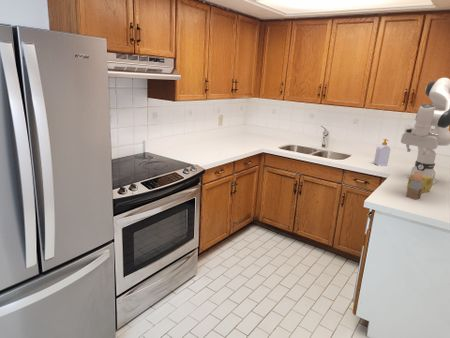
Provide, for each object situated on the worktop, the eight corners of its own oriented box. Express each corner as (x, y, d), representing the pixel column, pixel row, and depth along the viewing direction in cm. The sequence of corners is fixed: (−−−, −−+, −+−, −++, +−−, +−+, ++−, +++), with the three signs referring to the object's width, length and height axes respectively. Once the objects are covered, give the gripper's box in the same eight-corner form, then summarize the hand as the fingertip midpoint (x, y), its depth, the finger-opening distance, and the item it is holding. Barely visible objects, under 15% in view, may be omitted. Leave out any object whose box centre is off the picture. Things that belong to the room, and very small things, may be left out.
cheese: (420, 193, 211) (423, 178, 208) (405, 187, 221) (408, 174, 218) (430, 192, 215) (434, 177, 213) (415, 186, 225) (419, 173, 222)
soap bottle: (378, 166, 276) (383, 139, 269) (373, 163, 282) (378, 138, 276) (387, 166, 277) (393, 140, 271) (382, 164, 284) (388, 138, 277)
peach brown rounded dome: (414, 179, 202) (416, 171, 201) (422, 181, 199) (424, 173, 197) (410, 180, 199) (412, 172, 198) (419, 182, 196) (421, 174, 194)
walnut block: (410, 195, 206) (412, 186, 205) (419, 198, 202) (422, 189, 200) (405, 196, 203) (407, 187, 201) (415, 199, 198) (418, 190, 196)
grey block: (412, 186, 204) (414, 179, 202) (421, 189, 200) (423, 181, 199) (409, 187, 201) (411, 180, 199) (417, 190, 197) (419, 182, 196)
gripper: (442, 134, 191) (436, 156, 195) (406, 128, 206) (402, 149, 210) (438, 134, 187) (432, 157, 191) (402, 129, 202) (397, 150, 206)
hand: (416, 153), depth 200 cm, fingers open, 8 cm apart
